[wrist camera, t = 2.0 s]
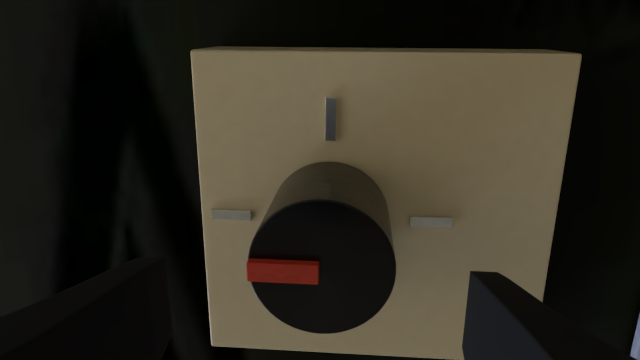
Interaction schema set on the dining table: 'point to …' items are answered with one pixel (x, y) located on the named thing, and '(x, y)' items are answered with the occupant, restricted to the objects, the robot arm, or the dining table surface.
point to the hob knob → (324, 250)
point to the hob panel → (386, 174)
